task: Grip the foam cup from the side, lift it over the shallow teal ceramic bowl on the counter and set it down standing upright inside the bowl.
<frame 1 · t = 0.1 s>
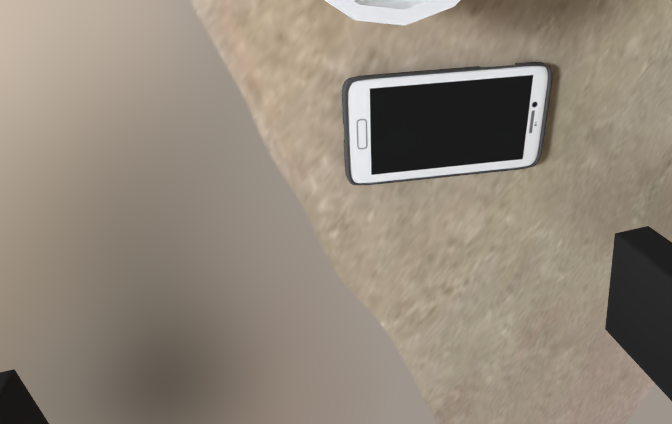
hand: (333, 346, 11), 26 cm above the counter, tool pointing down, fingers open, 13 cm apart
cell phone: (443, 121, 37), on the counter
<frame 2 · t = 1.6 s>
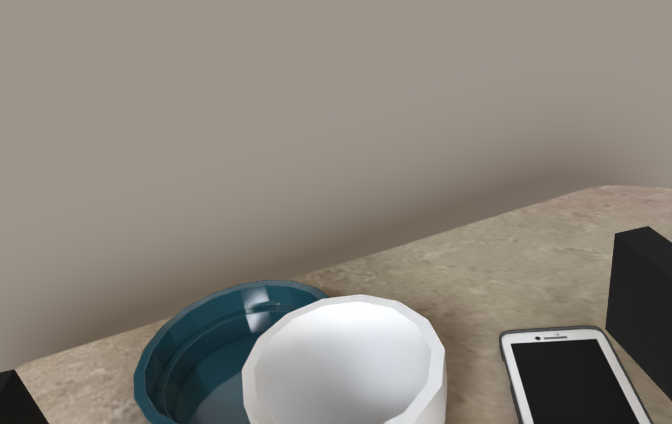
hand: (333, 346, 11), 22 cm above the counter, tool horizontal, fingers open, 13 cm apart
cell phone: (577, 417, 34), on the counter
bowl: (258, 393, 40), on the counter
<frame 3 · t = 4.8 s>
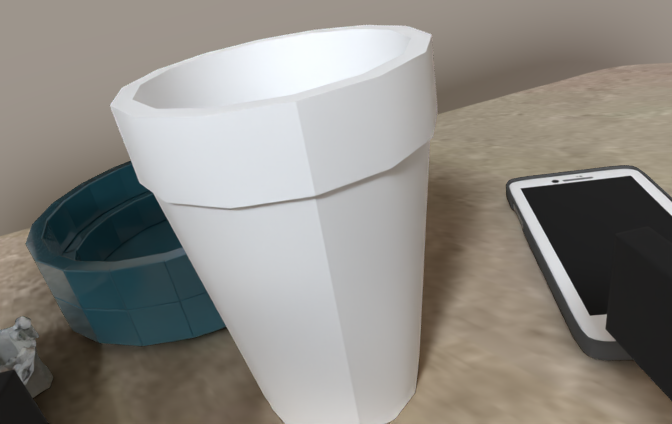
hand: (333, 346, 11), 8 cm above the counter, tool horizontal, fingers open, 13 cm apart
cell phone: (614, 253, 26), on the counter
foam cup: (343, 377, 22), on the counter
bowl: (201, 261, 31), on the counter
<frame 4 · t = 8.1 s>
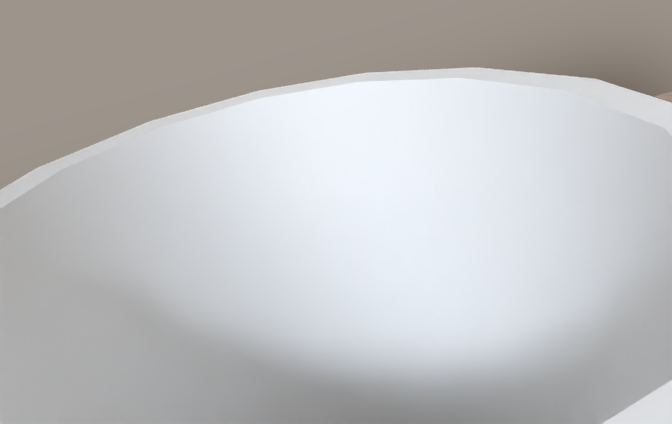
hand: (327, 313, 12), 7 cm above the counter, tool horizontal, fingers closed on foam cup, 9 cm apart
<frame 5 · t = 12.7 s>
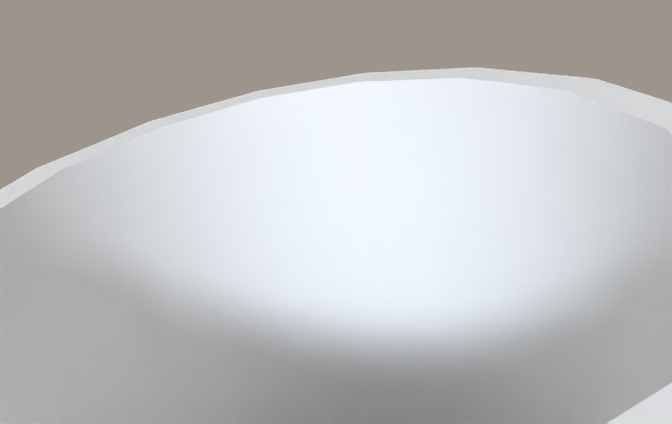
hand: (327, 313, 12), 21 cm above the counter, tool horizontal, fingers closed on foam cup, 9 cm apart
when the fingers open (8 cm above the counter, at t = 17.4 s): foam cup stays where it is, resting on bowl.
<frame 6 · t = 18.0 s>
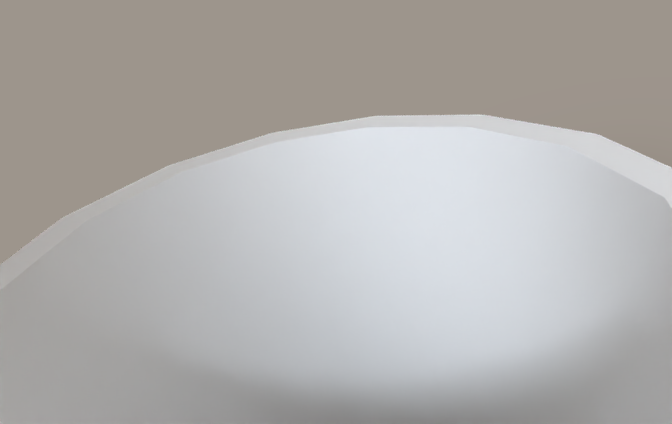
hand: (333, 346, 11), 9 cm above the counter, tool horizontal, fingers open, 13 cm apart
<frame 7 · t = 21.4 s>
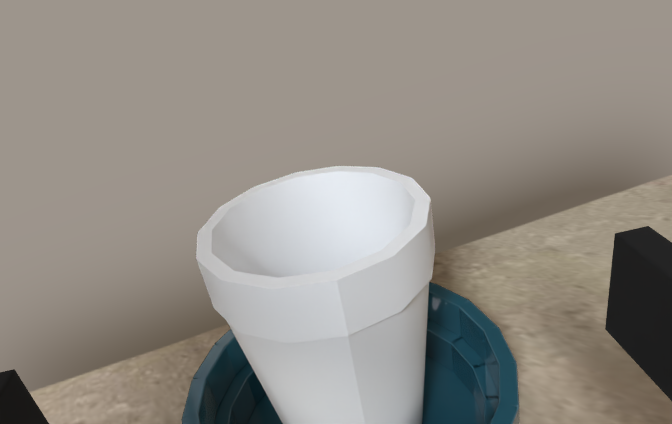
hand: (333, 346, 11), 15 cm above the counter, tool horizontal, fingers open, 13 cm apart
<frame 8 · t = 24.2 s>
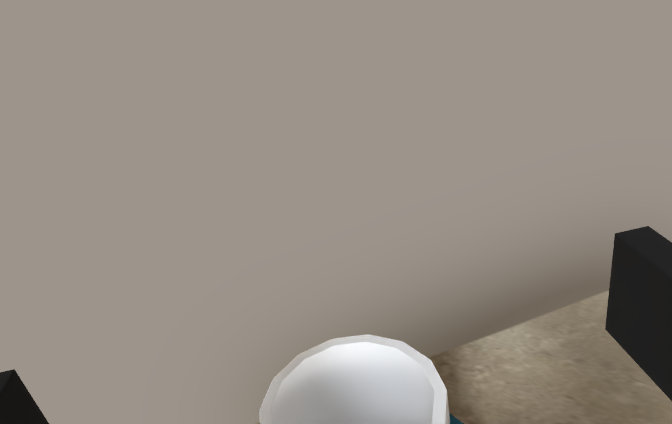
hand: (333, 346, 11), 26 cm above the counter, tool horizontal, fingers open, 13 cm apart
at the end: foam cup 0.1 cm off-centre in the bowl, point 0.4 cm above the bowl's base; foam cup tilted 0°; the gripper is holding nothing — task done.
